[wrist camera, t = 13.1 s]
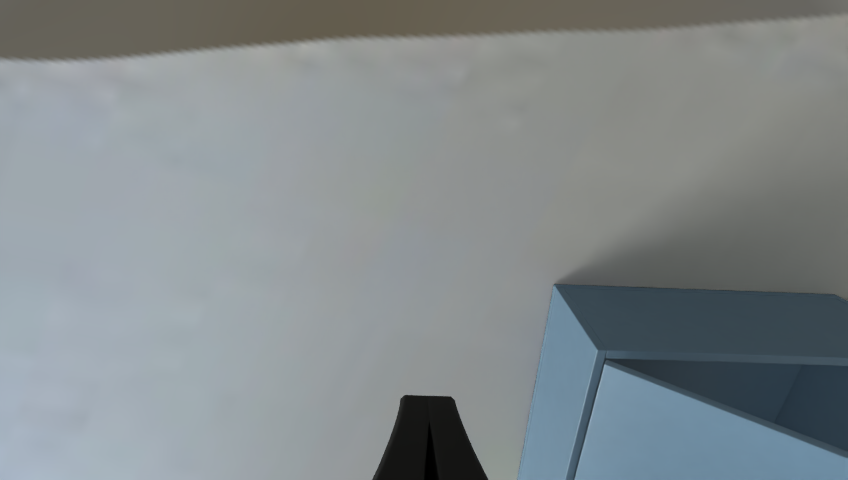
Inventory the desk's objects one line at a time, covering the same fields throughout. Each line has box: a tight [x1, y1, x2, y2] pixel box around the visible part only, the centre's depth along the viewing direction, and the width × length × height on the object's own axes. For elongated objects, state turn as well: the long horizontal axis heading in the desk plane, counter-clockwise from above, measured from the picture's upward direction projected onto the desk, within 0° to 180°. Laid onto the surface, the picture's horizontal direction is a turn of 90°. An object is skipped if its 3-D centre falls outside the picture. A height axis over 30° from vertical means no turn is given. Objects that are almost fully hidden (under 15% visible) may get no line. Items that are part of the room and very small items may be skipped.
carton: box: [517, 284, 848, 480], centre depth 21 cm, size 16×15×5 cm
